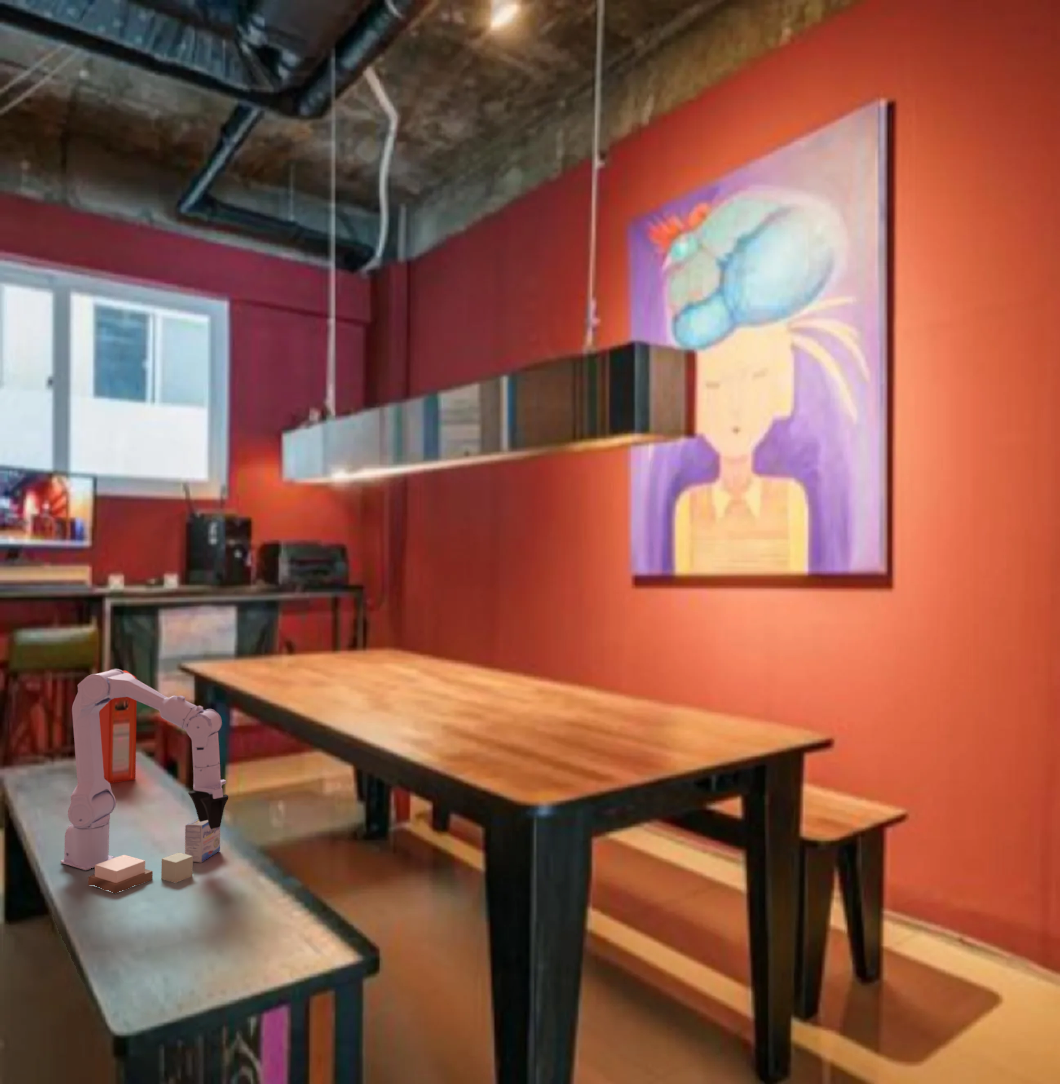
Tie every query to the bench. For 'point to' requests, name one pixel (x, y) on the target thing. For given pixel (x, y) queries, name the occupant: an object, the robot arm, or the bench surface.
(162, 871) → the beige cube
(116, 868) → the cream top slab
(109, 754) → the file binder
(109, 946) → the bench surface
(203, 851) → the medicine box
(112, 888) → the walnut base slab
